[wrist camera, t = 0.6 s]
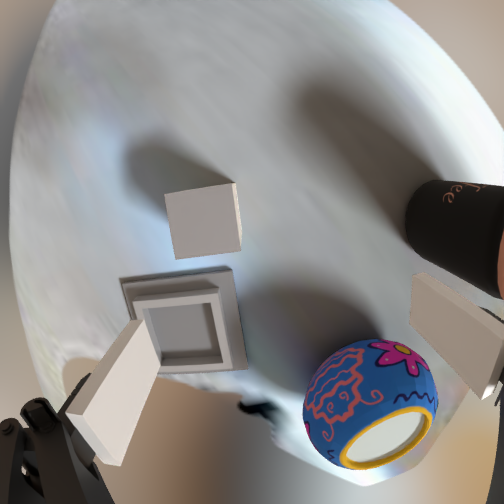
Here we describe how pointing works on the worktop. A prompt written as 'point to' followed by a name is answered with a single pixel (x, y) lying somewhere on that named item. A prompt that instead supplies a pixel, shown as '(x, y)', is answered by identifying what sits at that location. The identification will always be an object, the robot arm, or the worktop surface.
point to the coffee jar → (461, 231)
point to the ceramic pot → (369, 404)
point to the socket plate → (191, 321)
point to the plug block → (204, 221)
